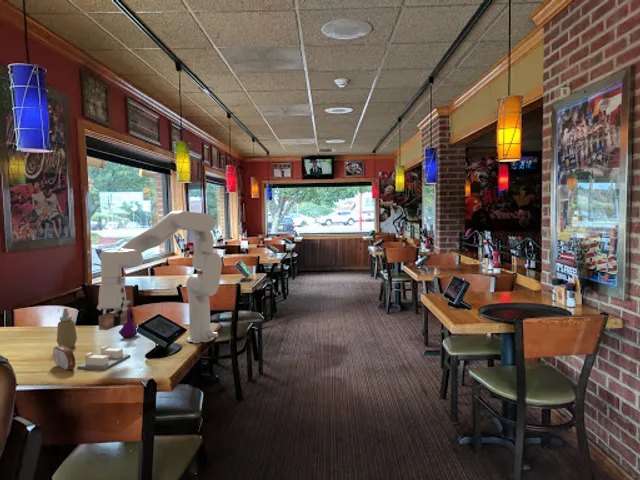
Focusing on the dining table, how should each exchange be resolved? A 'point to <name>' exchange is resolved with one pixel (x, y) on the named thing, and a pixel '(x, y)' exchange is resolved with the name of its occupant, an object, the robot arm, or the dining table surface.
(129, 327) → the perfume bottle
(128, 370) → the dining table surface
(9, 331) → the dining table surface
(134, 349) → the dining table surface
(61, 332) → the squeeze bottle
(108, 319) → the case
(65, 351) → the tin
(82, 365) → the stand
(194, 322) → the robot arm
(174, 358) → the dining table surface
